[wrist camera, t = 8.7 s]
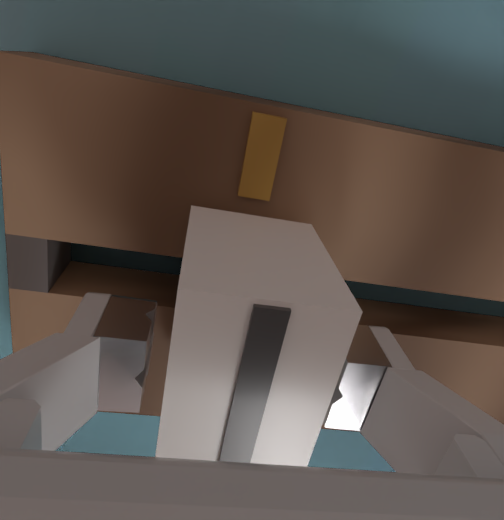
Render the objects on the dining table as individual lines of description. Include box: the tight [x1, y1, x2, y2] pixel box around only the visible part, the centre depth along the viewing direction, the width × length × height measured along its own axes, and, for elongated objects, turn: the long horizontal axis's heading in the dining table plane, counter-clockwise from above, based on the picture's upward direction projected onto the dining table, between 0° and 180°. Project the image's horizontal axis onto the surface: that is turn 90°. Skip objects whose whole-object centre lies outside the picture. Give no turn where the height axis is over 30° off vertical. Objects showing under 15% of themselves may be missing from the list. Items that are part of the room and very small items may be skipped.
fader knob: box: [155, 205, 363, 467], centre depth 10 cm, size 3×5×6 cm, turn 169°
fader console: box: [0, 51, 504, 432], centre depth 13 cm, size 24×10×2 cm, turn 79°
